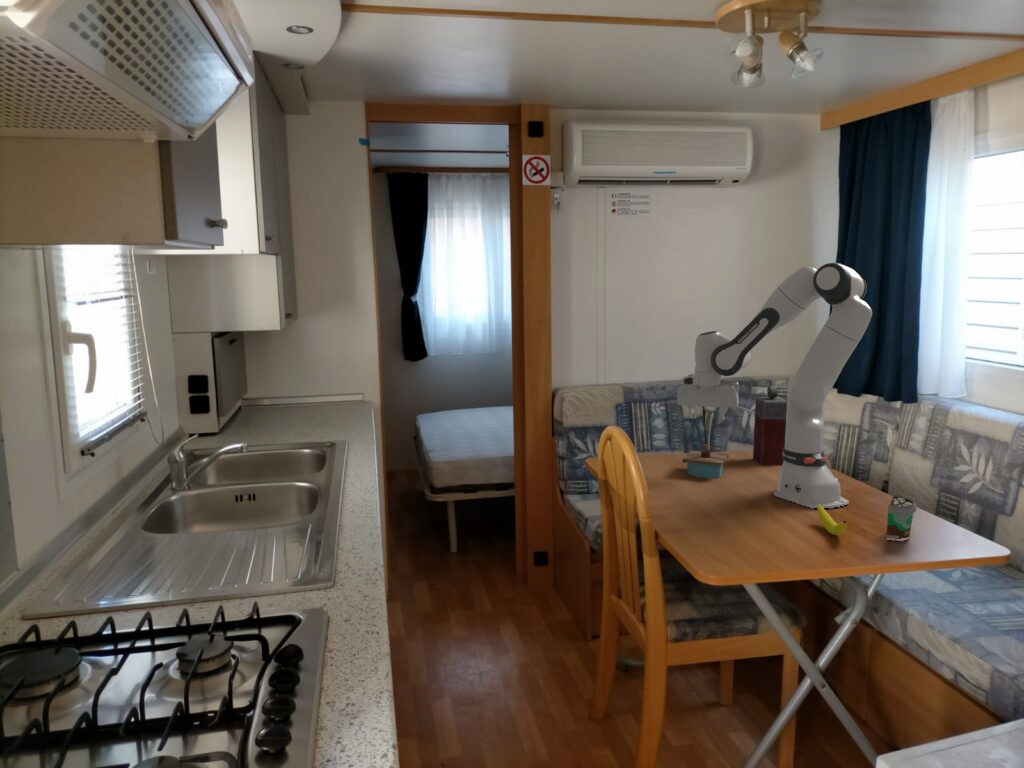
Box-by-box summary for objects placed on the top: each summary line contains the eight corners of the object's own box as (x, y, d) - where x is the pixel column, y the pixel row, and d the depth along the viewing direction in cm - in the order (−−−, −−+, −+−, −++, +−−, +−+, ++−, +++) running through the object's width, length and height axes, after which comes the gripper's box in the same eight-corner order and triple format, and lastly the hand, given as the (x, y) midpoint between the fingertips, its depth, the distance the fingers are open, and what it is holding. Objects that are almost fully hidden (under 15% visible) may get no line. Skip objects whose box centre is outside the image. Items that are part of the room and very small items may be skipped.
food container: (912, 546, 193) (915, 509, 191) (885, 542, 196) (888, 505, 194) (916, 532, 203) (919, 496, 201) (890, 528, 206) (893, 492, 205)
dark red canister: (792, 465, 270) (796, 388, 265) (761, 465, 270) (764, 388, 265) (782, 458, 279) (786, 383, 274) (752, 458, 278) (755, 384, 274)
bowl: (727, 476, 256) (728, 462, 255) (698, 479, 253) (699, 464, 252) (710, 468, 267) (711, 454, 266) (682, 470, 264) (682, 456, 263)
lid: (721, 466, 250) (721, 451, 250) (682, 462, 256) (682, 447, 255) (728, 457, 262) (728, 443, 261) (690, 453, 268) (691, 439, 267)
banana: (822, 519, 213) (824, 498, 212) (849, 544, 194) (851, 521, 193) (812, 519, 213) (813, 498, 212) (838, 544, 195) (839, 521, 193)
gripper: (741, 378, 253) (740, 419, 255) (680, 376, 262) (680, 415, 264) (738, 381, 247) (737, 423, 249) (676, 379, 256) (675, 419, 258)
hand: (707, 419), depth 257 cm, fingers open, 8 cm apart
